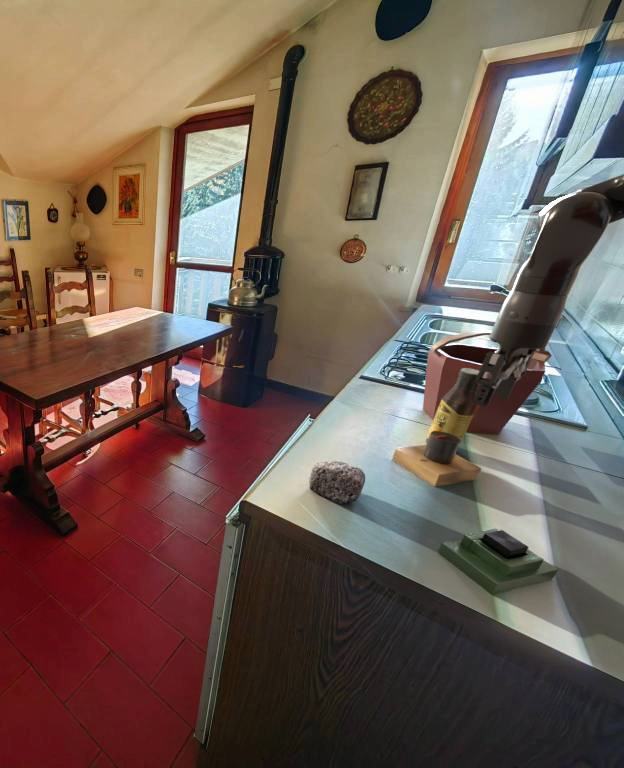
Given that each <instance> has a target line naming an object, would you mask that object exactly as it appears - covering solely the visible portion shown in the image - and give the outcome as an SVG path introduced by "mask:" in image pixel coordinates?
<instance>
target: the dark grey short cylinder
mask: <svg viewBox="0 0 624 768" xmlns="http://www.w3.org/2000/svg"><path fill="white" fill-rule="evenodd" d="M460 442H461V443H462V441H460V439H459V438H458V437H456V436H454V435H452V434H449V433H446V432H441V431H432V432H431V433H430V436H429V438H428V441H427V443H426V444H425V445H426V446H425V449H424V452H423V455H424V456H425V457H426V458H427V459H429V460H431V461H434V462H437V463H441V464H450V463H452V461H453V458H454V456H455V454H456V453H457V451H458V448H459V447H460V445H461V443H460ZM459 444H460V445H459ZM458 446H459V447H458ZM456 455H457V454H456Z"/></svg>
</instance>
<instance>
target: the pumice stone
mask: <svg viewBox="0 0 624 768" xmlns="http://www.w3.org/2000/svg"><path fill="white" fill-rule="evenodd" d="M308 478H309V480H308V482H309V483H308V484H309V489H310V490H311V491H312V492H313V493H315V494H316V495H318V496H319V497H322V498H324V499H326V500H329V501H330V502H332V503H334V504H337V505H341V504H345V503H348V502H349V503H353V502H356V501H357V500H358V499H359V497H360V496H361V494H362V490H363V489H364V486H365V483H366V473H365V472H364V471H363V469H361V468H359V467H357V466H356V467H355V466H353V465H350V464H348V463H347V462H344V461H340V460H339V461H338V460H330V461H318V462H317V463H315V464H314V465H313V467H312V469H311V471H310V476H309V477H308Z"/></svg>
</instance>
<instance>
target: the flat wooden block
mask: <svg viewBox="0 0 624 768" xmlns="http://www.w3.org/2000/svg"><path fill="white" fill-rule="evenodd" d="M425 446H426V444H420V445H411V446H403V447H396V448H395V450H394V453H393V456H392V459H391V460H392V461H393V462H395V463H396V464H398V465H400V466H401V467H403V468H404V469H405V470H407V471H409V472H411V473H413V474H414V475H415V476H417V477H419V478H420V479H422V480H423V481H425V482H427V483H428V484H430V485H431V486H432V487H441V486H447V485H454V484H459V483H460V484H461V483H465V482H472V481H477V479H478V476H479V474H480V472H481V470H482V467H480V466H478V465H476V464H474V462H471V461H469V460H467V459H466V458H464V457H461V456H460V455H458V454H455V456H454V458H453V461H452V463H450V464H441V463H437V462H434V461H431V460H429V459H427V458H426V457H425V456H424V455H423V452H424V449H425Z"/></svg>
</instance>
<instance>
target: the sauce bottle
mask: <svg viewBox="0 0 624 768" xmlns="http://www.w3.org/2000/svg"><path fill="white" fill-rule="evenodd" d="M478 373H479V371H478V370H474V369H469V368H463V369H461V370H460V372H459V377H458V379H457V382H456V384H455V386H454V387H453V388H452V389H451V390H450V391H449V392H448V393H447V394H446V395H445V396H444V397H443V398H442V400H441V403H440V405H439V407H438V410H437V412H436V415H435V417H434V420H432V422H431V424H430V426H429V427H430V428H429V429H428V432H427V434H426V439H425V443H426V444H427V441H428V438H429V436H430V433H431V432H432V431H441V432H446V433H449V434H452V435H454V436H456V437H458V438H459V439H460V441H461V442H460V444H459V446H458V448H459V447H460V446H461V443H462V441H463V439H464V437H465V435H466V433H467V432H466V430H467V428H468V426H469V423H470V421H471V419H472V417H473V415H474V411H475V409H476V406H477V404H475V403H473V399H474V397H475V395H476V394H475V392H476V391H477V387H478V385H479V384H478V383H475V379H476V378H477V375H478Z"/></svg>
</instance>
